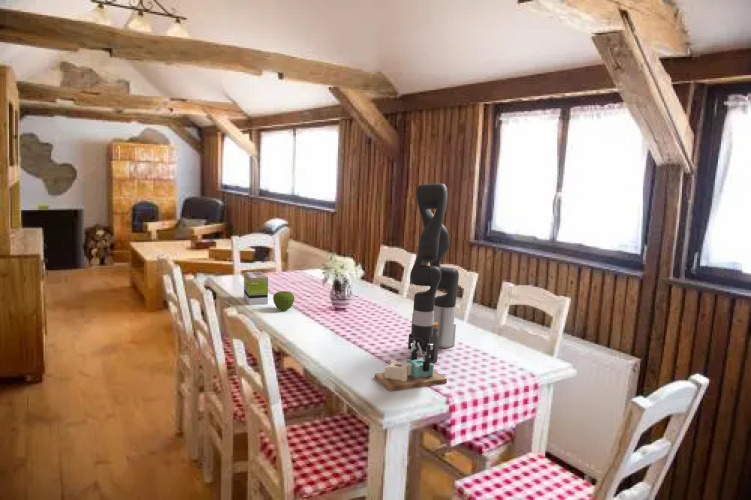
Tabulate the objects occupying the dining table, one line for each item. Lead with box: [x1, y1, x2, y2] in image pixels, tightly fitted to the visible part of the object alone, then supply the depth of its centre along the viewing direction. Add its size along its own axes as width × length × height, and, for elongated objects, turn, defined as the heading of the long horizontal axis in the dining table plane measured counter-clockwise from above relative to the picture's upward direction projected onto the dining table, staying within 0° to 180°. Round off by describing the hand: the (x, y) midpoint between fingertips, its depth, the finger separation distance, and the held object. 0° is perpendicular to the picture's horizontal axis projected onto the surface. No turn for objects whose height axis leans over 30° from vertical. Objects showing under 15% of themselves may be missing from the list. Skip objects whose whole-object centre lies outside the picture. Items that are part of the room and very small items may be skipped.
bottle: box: [421, 322, 439, 364], centre depth 203 cm, size 6×6×15 cm
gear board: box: [374, 362, 448, 392], centre depth 183 cm, size 22×12×6 cm, turn 116°
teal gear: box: [405, 357, 435, 378], centre depth 185 cm, size 8×8×4 cm
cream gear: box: [384, 359, 412, 382], centre depth 181 cm, size 8×8×4 cm
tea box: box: [243, 271, 269, 306], centre depth 278 cm, size 15×10×15 cm, turn 25°
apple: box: [272, 290, 295, 312], centre depth 264 cm, size 11×10×10 cm
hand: (419, 367), depth 185 cm, fingers open, 8 cm apart
